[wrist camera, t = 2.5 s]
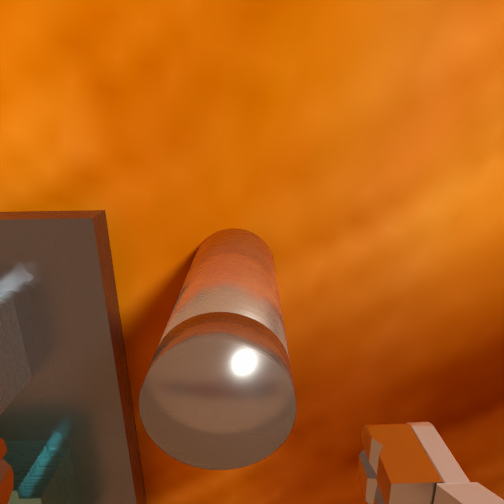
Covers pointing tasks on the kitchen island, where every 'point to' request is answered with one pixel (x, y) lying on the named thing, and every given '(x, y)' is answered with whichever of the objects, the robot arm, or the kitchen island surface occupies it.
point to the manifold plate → (64, 363)
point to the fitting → (222, 361)
